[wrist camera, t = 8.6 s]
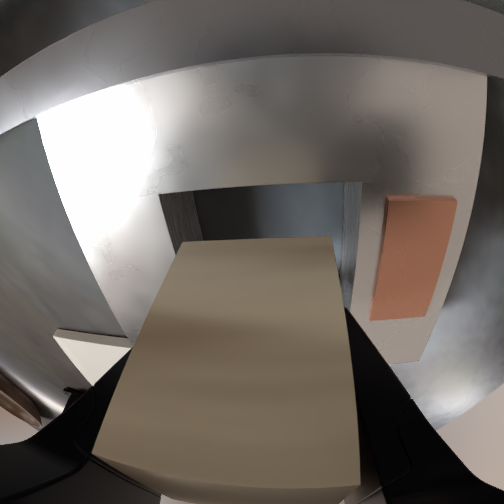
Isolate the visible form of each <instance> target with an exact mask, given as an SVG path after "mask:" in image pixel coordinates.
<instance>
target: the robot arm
mask: <svg viewBox="0 0 504 504" xmlns="http://www.w3.org/2000/svg"><path fill="white" fill-rule="evenodd" d="M344 311H345V318H346V324H347V331H348V339H349V346H350V354H351V362H352V371H353V380H354V389H355V399H356V411H357V423H358V438H359V456H360V483H361V485H360V486H358V487H357V488H356V489H355V490H354V491H353V492H352V493H351V494H349V495H348V496H347V497H346V498H345V499H344V501H345V504H504V491H503V490H501V489H499V488H496V487H494V486H492V485H489V484H487V483H485V482H484V481H482V480H480V479H479V478H478V477H476V476H475V475H474V474H473V473H472V472H471V471H470V470H469V469H468V468H467V467H466V466H465V465H464V464H463V462H462V461H461V460H460V459H459V458H458V457H457V455H456V454H455V453H454V452H453V451H452V450H451V448H450V447H449V446H448V445H447V444H446V443H445V441H444V440H443V439H442V438H441V437H440V436H439V434H438V433H437V432H436V431H435V429H434V428H433V427H432V426H431V425H430V423H429V422H428V421H427V419H426V418H425V416H424V415H423V414H422V412H421V411H420V409H419V408H418V406H417V405H416V404H415V402H414V401H413V399H410V398H411V397H410V395H409V393H408V392H407V391H406V389H405V388H404V386H403V385H402V383H401V382H400V380H399V379H398V378H397V376H396V375H395V373H394V372H393V370H392V369H391V368H390V366H389V365H388V363H387V362H386V361H385V359H384V358H383V356H382V355H381V354H380V352H379V351H378V349H377V348H376V347H375V345H374V344H373V343H372V341H371V340H370V338H369V337H368V336H367V334H366V333H365V332H364V330H363V329H362V327H361V326H360V325H359V323H358V322H357V321H356V319H355V318H354V317H353V315H352V314H351V313H350V311H349V310H348V309H347V308H346V307H344ZM132 348H133V347H132ZM132 348H131V349H130V350H129V351H128V352H127V353H126V354H125V355H124V356H123V357H122V358H121V359H119V360H118V361H117V362H116V363H115V364H114V365H113V366H112V367H111V368H110V369H109V370H108V371H107V372H106V373H105V374H104V375H103V376H102V377H101V378H100V379H99V380H98V381H97V382H96V383H95V384H94V386H91V387H90V388H89V389H88V390H87V391H86V392H85V393H80V392H76V391H73V390H70V389H66V388H64V390H63V392H64V393H65V394H66V395H67V396H68V397H69V399H68V401H67V403H66V406H65V408H64V410H63V412H62V413H61V414H60V415H59V416H58V417H56V418H55V419H54V420H53V421H51V422H50V423H49V424H48V425H46V426H45V427H44V428H43V429H41V430H40V431H39V432H37V433H36V434H35V435H33V436H32V437H31V438H29V439H27V440H24V441H22V442H18V443H13V444H5V445H0V504H160V499H161V493H159V492H157V491H155V490H153V489H151V488H149V487H147V486H145V485H143V484H141V483H140V482H138V481H136V480H134V479H132V478H131V477H129V476H127V475H125V474H124V473H122V472H120V471H119V470H117V469H115V468H114V467H112V466H110V465H109V464H107V463H106V462H104V461H103V460H101V459H99V458H98V457H96V456H95V455H93V454H92V451H93V448H94V445H95V442H96V439H97V436H98V434H99V431H100V428H101V425H102V423H103V420H104V417H105V415H106V412H107V410H108V407H109V404H110V402H111V399H112V397H113V394H114V392H115V389H116V387H117V384H118V382H119V379H120V377H121V374H122V372H123V370H124V367H125V365H126V362H127V360H128V358H129V355H130V353H131V351H132Z"/></svg>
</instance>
